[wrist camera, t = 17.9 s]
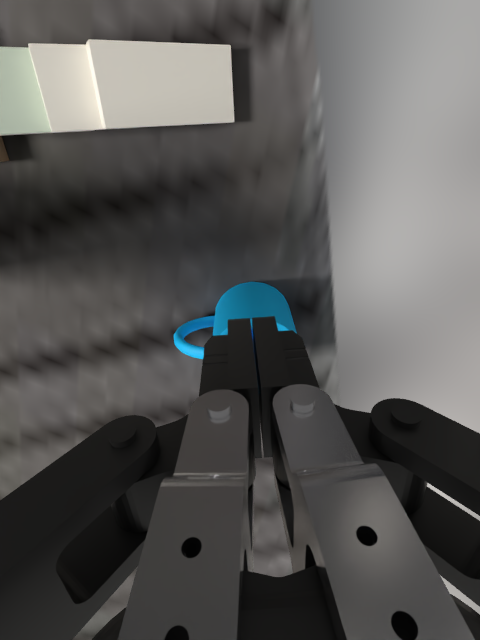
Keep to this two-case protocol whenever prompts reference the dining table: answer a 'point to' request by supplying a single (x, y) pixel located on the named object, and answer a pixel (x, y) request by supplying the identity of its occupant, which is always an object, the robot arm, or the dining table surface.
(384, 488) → the robot arm
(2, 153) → the end stop
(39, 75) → the domino
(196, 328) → the mug
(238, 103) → the dining table surface
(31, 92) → the domino
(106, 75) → the domino
